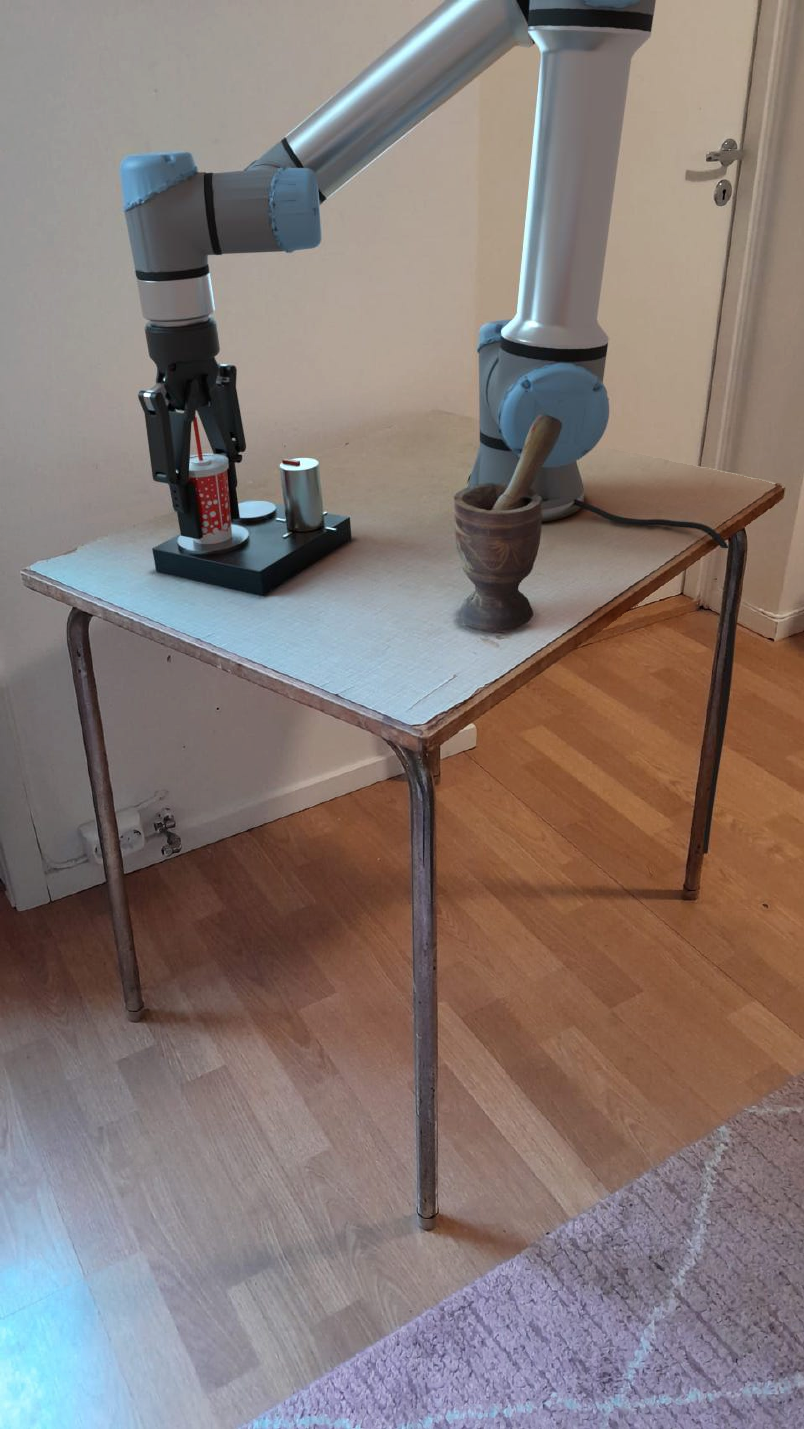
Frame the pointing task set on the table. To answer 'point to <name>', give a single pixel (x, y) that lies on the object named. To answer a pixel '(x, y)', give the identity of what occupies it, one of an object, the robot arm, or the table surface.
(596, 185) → the robot arm
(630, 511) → the table surface
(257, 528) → the hob
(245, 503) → the hot plates
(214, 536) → the beverage cup
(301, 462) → the knob
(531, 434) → the mortar and pestle
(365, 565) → the table surface
